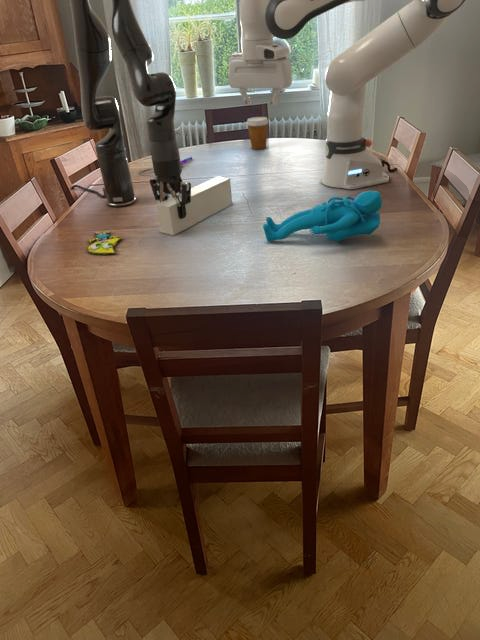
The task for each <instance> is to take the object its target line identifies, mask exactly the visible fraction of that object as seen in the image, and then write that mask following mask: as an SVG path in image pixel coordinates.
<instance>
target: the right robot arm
mask: <svg viewBox="0 0 480 640" xmlns="http://www.w3.org/2000/svg"><path fill="white" fill-rule="evenodd" d="M364 1H365V2H366V0H239V2H238V5H239V8H238V9H239V25H240V27H241V37H240V44H241V51H239V52H236V51H234V52H231V54H230V55H229V57H228V85H229V87H230V88H231V89H239V93H240V95H241V97H242V100H243V105H244V106H245V105H247V106H248V105H251V103H252V101H251V100H252V97H249V95H248V89H270V90H271V89H272V93H273V94H272V95H273V96H272V98H270V99H269V102H270V103H269V105H270V106H272V107H273V106H275V107H276V106H277V105H278V103H279V102H278V99H279V97H280V94H281V90H283V89H288V88H290V87H291V85H292V83H293V72H292V71H293V70H292V63H291V61H290V59H289V58H288V57H289V56H290V49H289V48H288V47H287V46H284V45H280V44H278V43H276V42H274V37H275V38H277V39H280V40H289V39H292V38H294V37H296V36H297V35H298V34H299V33H300V31H301V30H302V29H303V28H304V27H305V26H306V25H307V23H309V22H311V20H313V19H315V18H317V17H319V16H320V15H323V14H325V13H326V12H329V11H331V10H333V9H335V8H337V7H339V6H342V5H344V4H348V3H352V2H353V3H354V2H364ZM465 2H466V0H412V1H410V2H409V3H407V4H406V5H404V6H403V7H402V8H400V9H399V10H398V11H396V12H395V13H393V14H392V15H391V16H390V17H388V18H386V19H385V20H384V21H383V22H381V23H380V24H378V26H376V27H374V28H373V29H372V30H370V31H368V33H367V34H365V35H364V36H362V37H361V38H360V39H358V40H357V41H355V43H353V44H352V45H350V46H349V47H348V48H346V49H345V50H343V51H342V52H340V53H339V54H338V55H337V56H335V57H334V58H333V59H332V60H331V61H330V62H329V64H328V65H327V67H326V70H325V74H324V76H325V77H324V80H325V81H324V82H325V85H326V88H327V89H328V90H329V91H330V94H329V103H328V111H327V123H326V124H327V126H326V127H327V129H326V130H327V133H326V139H325V145H324V154H325V155H324V156H325V164H324V170H323V175H322V178H321V183H322V185H324V186H327V187H330V188H338V189H339V188H341V189H346V190H356V189H361V188H366V187H371V186H376V185H380V184H385V183H389V182H390V176H389V175H388V174H387V173H386V172H385V171H384V167H385V165H386V167H387V171H388V172H389V173H394V172H396V171H398V167H393V168H391V164H390V163H389V162H388V161H386V160H385V159H383V158H380V157H377V156H376V155H375V154H373V152H371V151H370V150H368V148H370V147H371V146H373V141H372V140H371V139H368V138H367V139H366V138H364V137H362V134H363V118H364V108H365V107H364V106H365V99H366V98H365V97H366V88H367V83H369V82H370V81H372V80H373V79H374V78H376V77H377V76H378V75H380V74H381V73H382V72H384V71H385V70H387V69H388V68H389V67H391V66H392V65H393V64H395V63H396V62H398V61H400V60H401V59H402V58H403V57H405V56H406V55H408V54H410V53H411V52H412V51H414V50H415V49H417V48H418V47H420V46H421V45H423V44H424V43H425V42H426V41H427V40H429V39H430V38H431V37H433V35H435V34H436V33H437V32H438V31H439V30H440V29H441V28H442V27H443V26H444V25H445V24H446V22H447V21H448V17H450V16H451V15H452V14H454V13H455V12H456V11H457V10H459V8H460V7H462V6H463V4H464V3H465Z"/></svg>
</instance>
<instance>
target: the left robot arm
mask: <svg viewBox="0 0 480 640" xmlns="http://www.w3.org/2000/svg"><path fill="white" fill-rule="evenodd" d="M69 4H70V11H71V18H72V25H73V26H72V27H73V36H74V47H75V56H76V61H77V67H78V74H79V85H80V105H81V116H82V119H83V123H84V125H85V127H86V129H87V130H89V131H92V132H94V131H102V130H108V129H109V131H108V132H107V134H106V135H105V136H104V137H103V138H101V139H100V140H98V141H97V142H95V145H94V148H95V152H96V157H97V162H98V165H99V169H100V174H101V177H102V182H103V187H102V192H103V194H101V193H100V192H99V191H97V190H94V189H92V188H91V189H90V188H87V187H84V186H81V185H78V184H74V185H72V186H71V187H70V190H74V189H75V188H78V189H81V190H83V191H86V192H90V193H94V194H96V195H97V196H98V197H100V198H101V199H102V198H103V199H104V198H106V199H107V206H108V207H111V208H120V207H121V208H122V207H126V206H130V205H132V204H134V203H135V202H136V200H137V199H136V198H137V197H136V196H135V191H134V184H133V180H132V176H131V170H130V166H129V165H130V164H129V160H128V157H127V156H128V155H127V151H126V146H125V139H124V134H123V128H122V121H121V114H120V109H119V105H118V102H117V100H116V98H114V96H112V95H103V96H97V95H96V94H97V91H98V88H99V86H100V85H101V83H102V81H103V79H104V78H105V76H106V74H107V72H108V71H109V69H110V68H109V67H110V65H111V62H112V50H111V49H112V47H111V37H110V34H109V31H108V29H107V28H106V26H105V24H104V22H102V20H101V19H100V18H99V16H98V15H97V14H96V12H95V11H94V10H93V7H92V6H91V3H90V0H69ZM111 31H112V37H113V39H114V42H115V44H116V46H117V49H118V50H119V52H120V55H121V56H122V58H123V60H124V62H125V64H126V67H127V72H128V75H129V79H130V85H131V88H132V92H133V94H134V97H135V98H136V100H137V101H138V102H139V104H141V105H142V106H143V107H147V108H149V107H151V108H152V107H155V108H154V112H153V113H152V114H151V115H150V116H149V117H147V119H146V128H147V134H148V139H149V150H150V157H151V163H152V169H153V172H154V173H153V174H154V176H155V177H154V178H150V179H149V184H150V187H151V190H152V193H153V196H154V200H155V201H158V202H159V203H160V202H163V201H165V200H167V199H169V198H170V196H171V197H173V199H175V201H176V203H177V205H178V207H177V208H178V214H179V219H183V218H185V217H186V207H185V205H186V204H188V203H190V202H191V188H192V184H191V182H190V181H189V182H185V181H183V179H182V177H181V175H182V171H183V170H182V169H183V168H182V165H181V162H180V161H181V156H180V148H179V144H178V140H177V135H176V134H177V133H176V128H175V113H176V101H177V90H176V85H175V83H174V81H173V78H172V77H171V76H170V75H169V74H168V73H166V72H163V71H162V72H161V71H160V72H154V73H149V71H148V66H150V65H151V64H152V62H153V61H154V54H153V51H152V49H151V46H150V44H149V42H148V41H147V38H146V37H145V35H144V33H143V30H142V27H141V26H140V24H139V22H138V20H137V16H136V14H135V12H134V10H133V6H132V4H131V1H130V0H111ZM179 197H180V199H181V201H180V199H179Z"/></svg>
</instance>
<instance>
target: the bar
mask: <svg viewBox="0 0 480 640" xmlns="http://www.w3.org/2000/svg"><path fill="white" fill-rule="evenodd" d="M232 194H233V193H232V184H231V178H230V177H225V176H215V177H213V178H211V179H208V180H206V181H205V182H203V183H200V184H198V185H195V186H193V187H191V202H190V203H188V204H186V205H185V207H186V217H185V218H183V219H179V214H178V208H177V207H178V205H177V203H176V201H175V199H173V197H172V196H171V197H169V199H167V200H165V201H163V202H160V201H159V202H158V203H156V204H155V205H156V212H157V217H158V223H159V228H160V233H161V234H166V235H170V236H175V235H177V234H179V233H181V232H183V231H184V230H186V229H188V228H190V227H192V226H194V225H196V224H197V223H200V222H202V221H203V220H205V219H207V218H209V217H211V216H213V215H215V214H217V213H218V212H220V211H223V210H224V209H226V208H228V207H229V206H231V205H233V196H232ZM179 199H180V197H179ZM180 201H181V199H180Z"/></svg>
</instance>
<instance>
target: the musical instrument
mask: <svg viewBox="0 0 480 640" xmlns="http://www.w3.org/2000/svg"><path fill="white" fill-rule="evenodd" d="M192 160H193V156H189V157H186V158H183V159H182V160H180V162H181V166H183V165H184V164H185V163H186V162H188V161H192ZM151 169H152V167H149V168H146V169H141V170H139V171H138V173H139V174H142V175H143V174H145V175H148V174H154V171H152V172H144V171H147V170H151Z"/></svg>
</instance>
